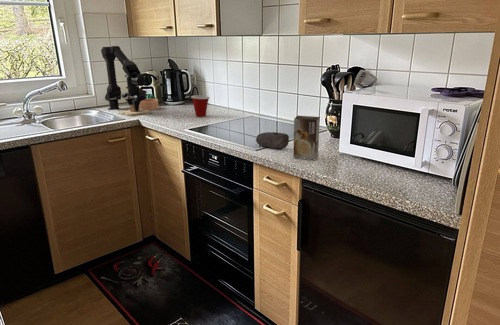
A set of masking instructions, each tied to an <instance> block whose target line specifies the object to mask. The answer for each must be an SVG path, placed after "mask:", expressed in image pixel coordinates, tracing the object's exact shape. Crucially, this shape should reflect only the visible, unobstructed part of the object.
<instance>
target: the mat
mask: <svg viewBox="0 0 500 325" xmlns="http://www.w3.org/2000/svg"><path fill="white" fill-rule="evenodd" d="M118 114H119V115H122V116H126V117H129V118H133V116H127V115H124V114H120V113H119V112H118ZM144 115H145V114H143V116H144ZM148 115H151V113H149V114H148ZM138 116H139V115H137V117H138Z"/></svg>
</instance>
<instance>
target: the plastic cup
mask: <svg viewBox="0 0 500 325" xmlns="http://www.w3.org/2000/svg"><path fill="white" fill-rule="evenodd" d="M190 97H191V99H192V100H191V101H192V104H193V109H194V112H195V113H194V114H195V116H196V118H203V117H206V115H207V109H208V102H209V100H210V96H207V95H202V94H201V95H198V94H195V95H191V96H190Z"/></svg>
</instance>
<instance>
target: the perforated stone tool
mask: <svg viewBox="0 0 500 325" xmlns="http://www.w3.org/2000/svg"><path fill="white" fill-rule="evenodd" d="M289 137H290V135H288V133H283V132H276V131H273V132H271V131H270V132H269V131H268V132H267V131H266V132H262V133H259V134H257V135H256V138H255V141H256V143H257V145H258V146H261V147H265V148H267V147H268V149H273V148H275V149H279V150H283V149H285V148H287V146H288V145H289V143H290V142H289V141H290V138H289Z"/></svg>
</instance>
